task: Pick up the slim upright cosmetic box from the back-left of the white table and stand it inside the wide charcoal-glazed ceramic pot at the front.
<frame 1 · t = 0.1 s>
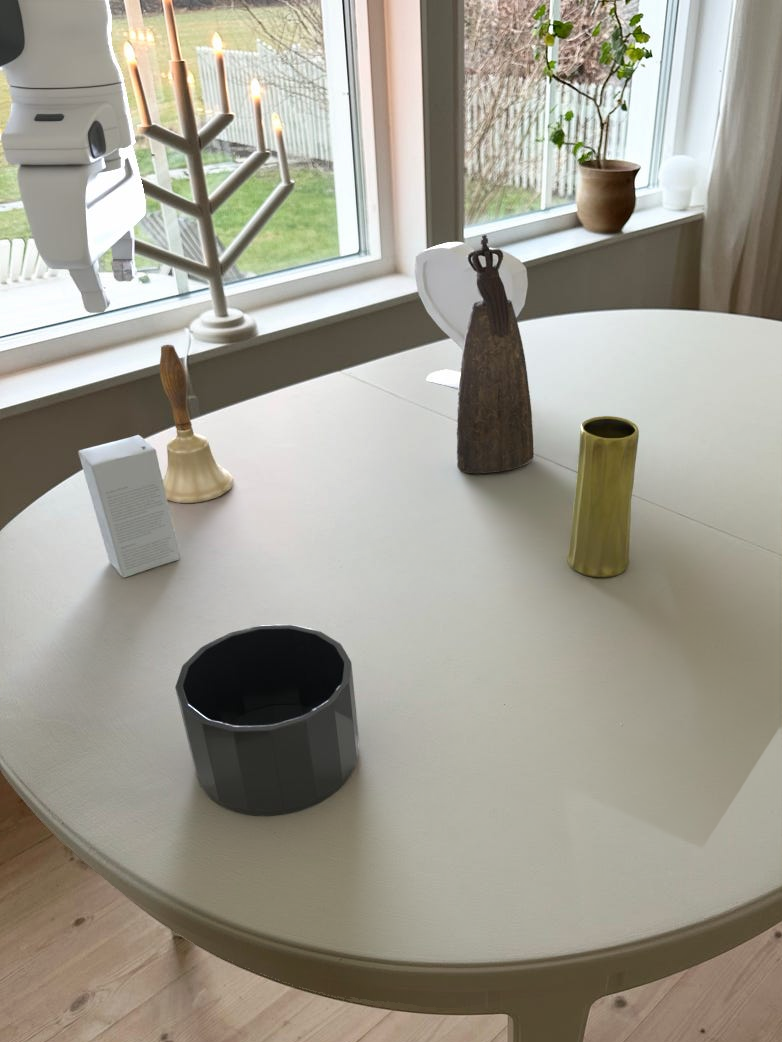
hand: (113, 294, 87), 24 cm above the table, tool pointing down, fingers open, 8 cm apart
holder pot: (278, 757, 72), on the table
statue: (494, 463, 113), on the table
cosmetic box: (144, 562, 95), on the table
vase: (597, 564, 95), on the table
hand bell: (196, 487, 108), on the table
heart sculpture: (470, 384, 133), on the table
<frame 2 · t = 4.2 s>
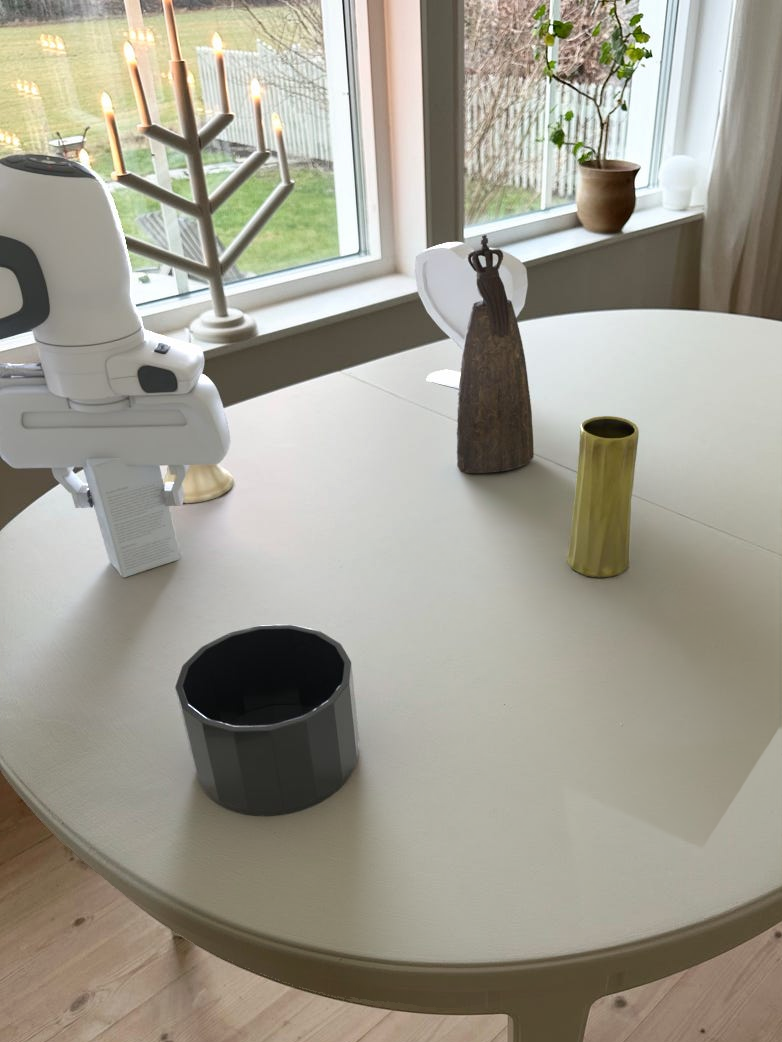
hand: (131, 504, 91), 6 cm above the table, tool pointing down, fingers closed on cosmetic box, 7 cm apart
cosmetic box: (144, 562, 95), on the table, touching gripper
everything else where it was.
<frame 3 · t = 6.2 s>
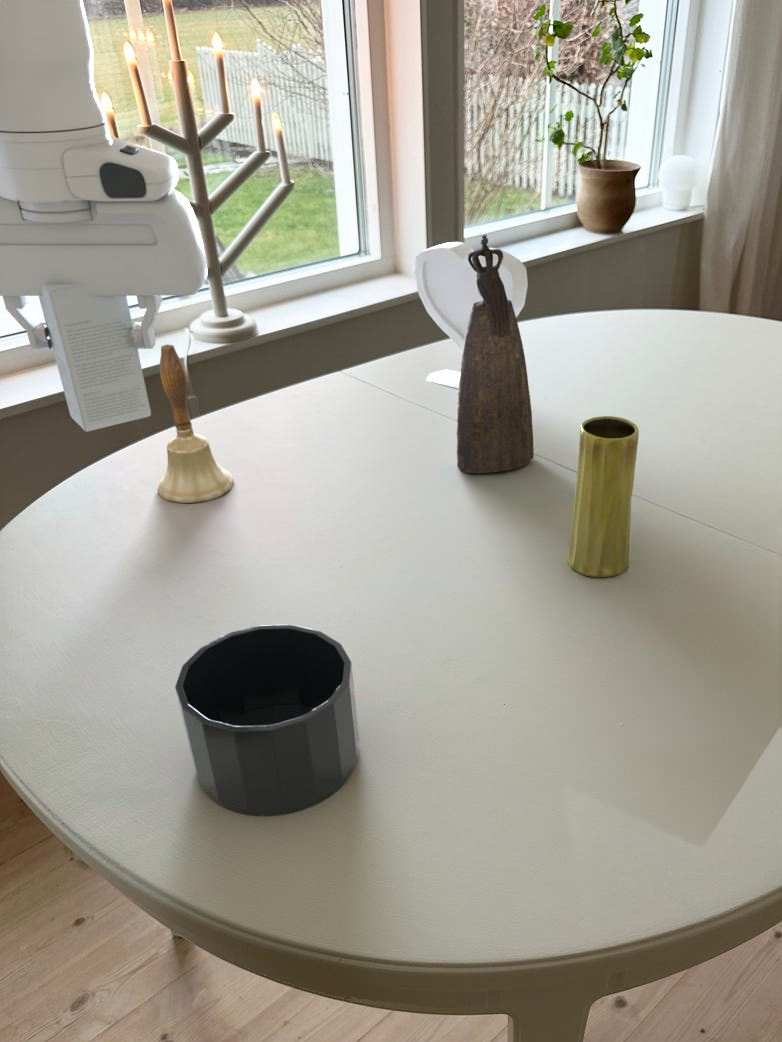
hand: (95, 347, 81), 22 cm above the table, tool pointing down, fingers closed on cosmetic box, 7 cm apart
cosmetic box: (110, 419, 84), point 15 cm above the table, touching gripper
everything else where it was.
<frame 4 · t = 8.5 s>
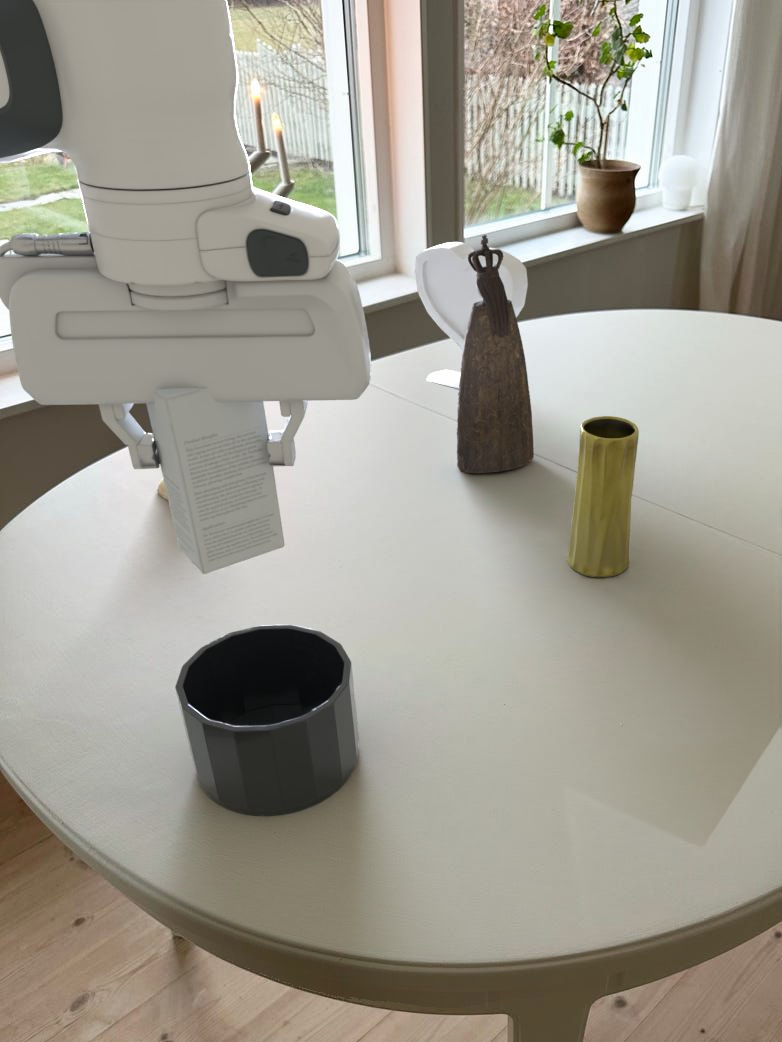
hand: (217, 464, 60), 23 cm above the table, tool pointing down, fingers closed on cosmetic box, 7 cm apart
cosmetic box: (231, 551, 64), point 16 cm above the table, touching gripper
everything else where it was.
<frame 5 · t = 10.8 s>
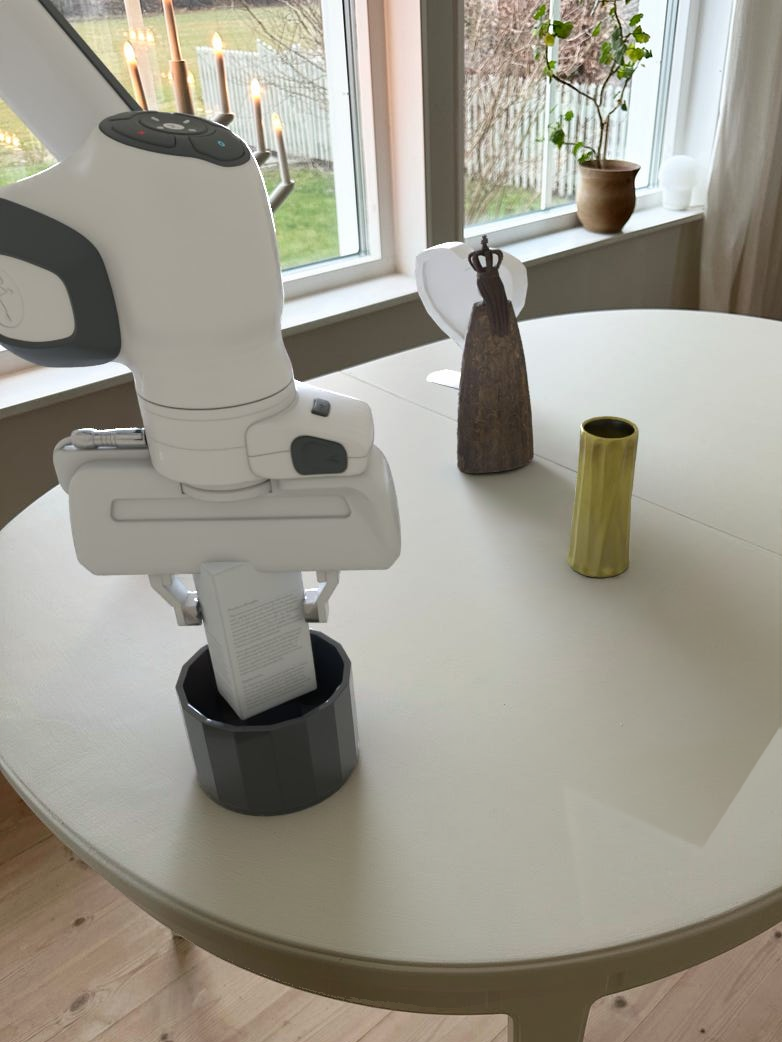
hand: (255, 619, 64), 13 cm above the table, tool pointing down, fingers closed on cosmetic box, 7 cm apart
cosmetic box: (266, 693, 68), point 6 cm above the table, touching gripper
everything else where it was.
when the fingers open (7 cm above the table, at t = 12.9 s): cosmetic box stays where it is, resting on holder pot.
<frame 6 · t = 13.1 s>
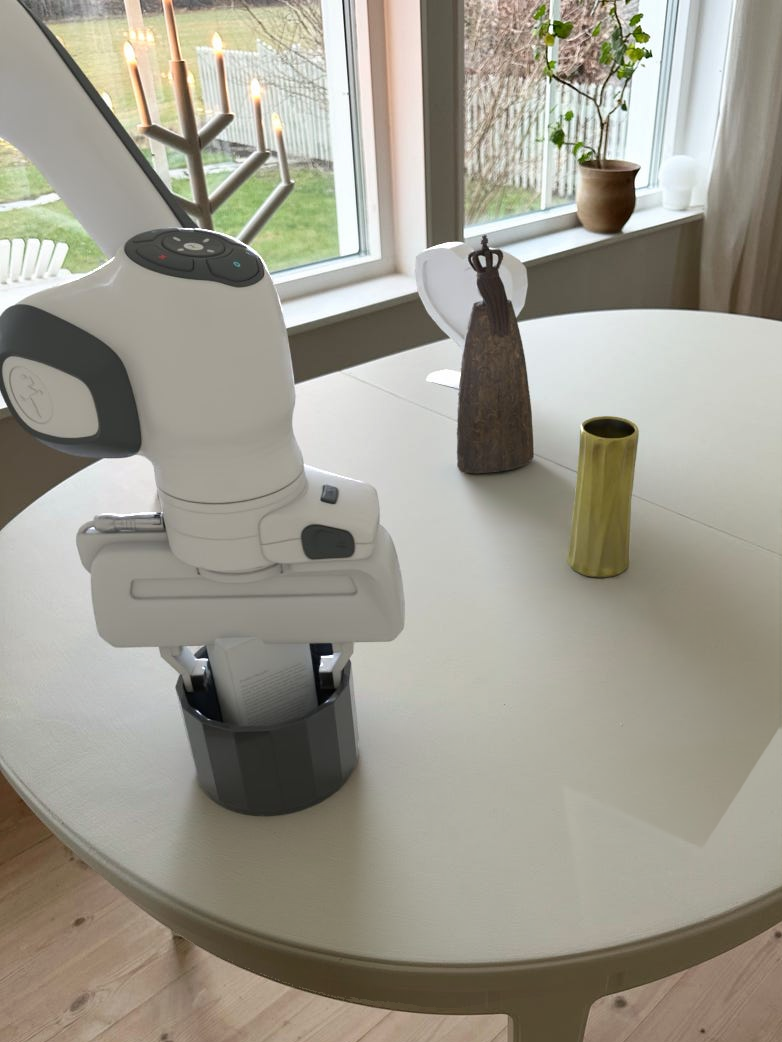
hand: (266, 685, 68), 7 cm above the table, tool pointing down, fingers open, 8 cm apart
cosmetic box: (276, 752, 72), resting on holder pot
everything else where it was.
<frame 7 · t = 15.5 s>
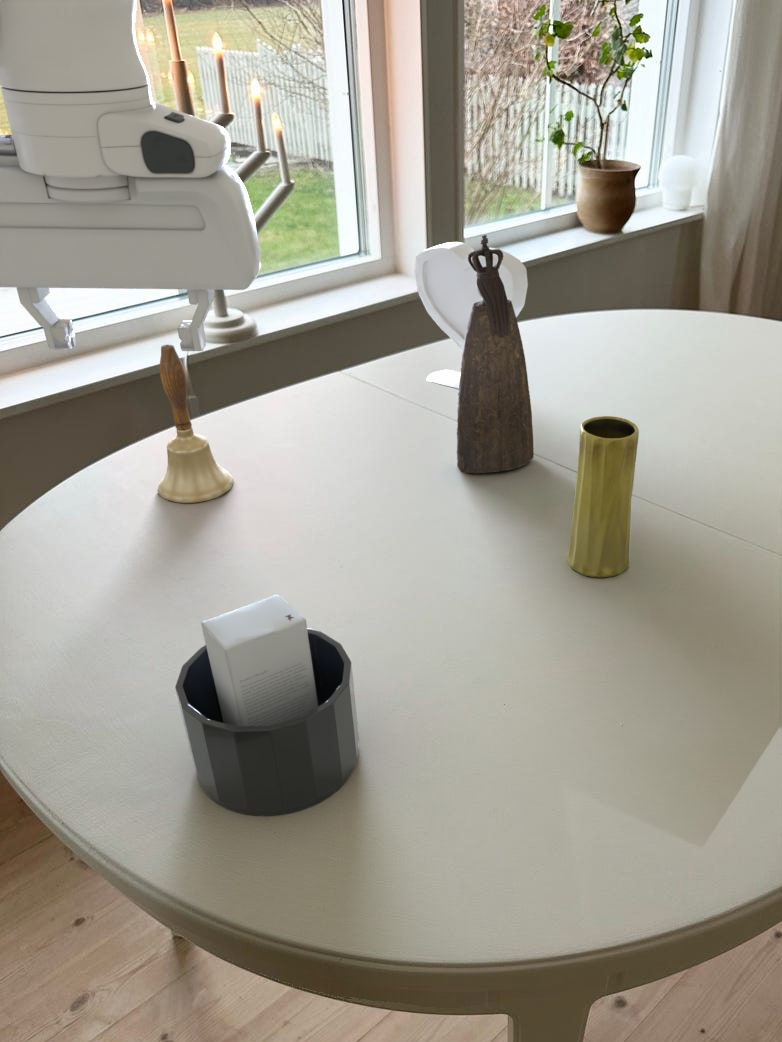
hand: (128, 348, 70), 26 cm above the table, tool pointing down, fingers open, 8 cm apart
nothing on the table moved.
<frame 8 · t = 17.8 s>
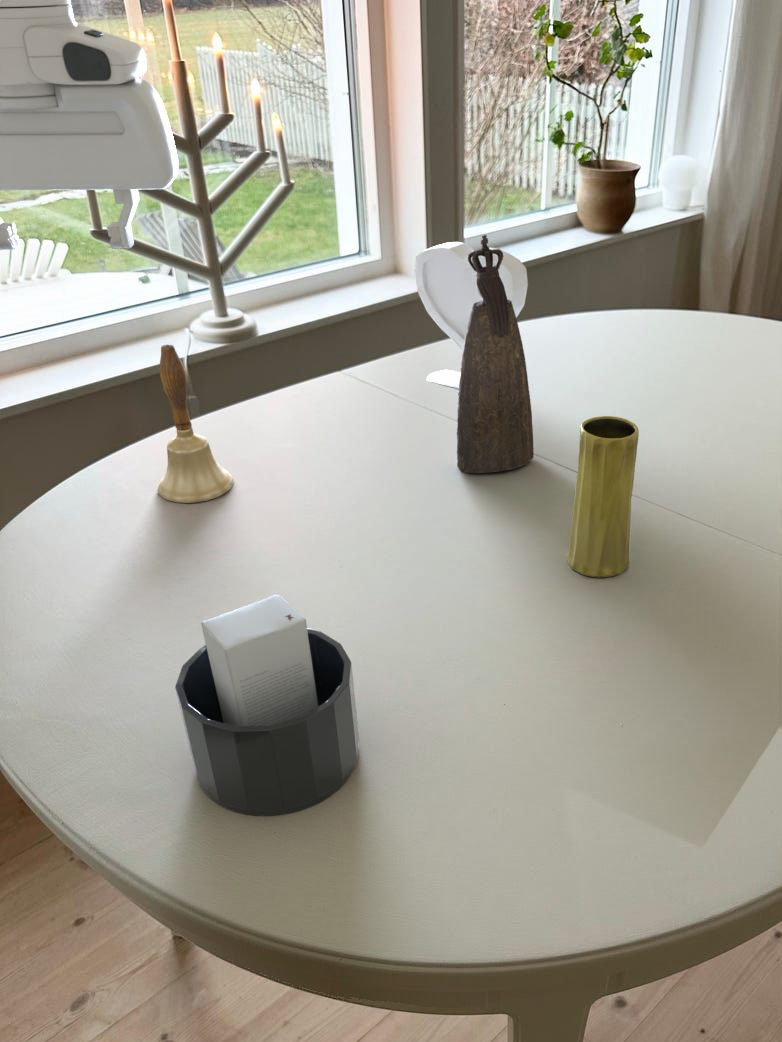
hand: (65, 247, 79), 29 cm above the table, tool pointing down, fingers open, 8 cm apart
nothing on the table moved.
at the end: cosmetic box inside the target area in the holder pot (0.1 cm from its centre), point 0.4 cm above the holder pot's base; the gripper is holding nothing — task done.
